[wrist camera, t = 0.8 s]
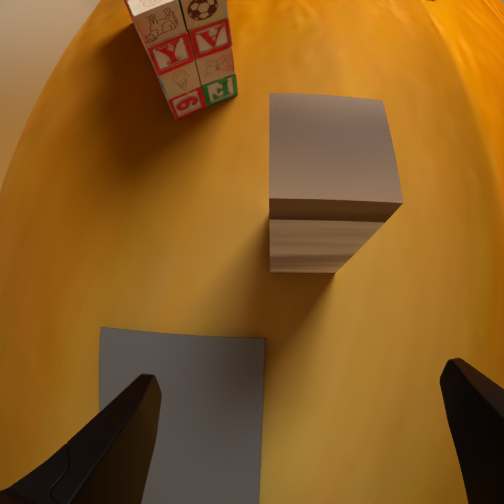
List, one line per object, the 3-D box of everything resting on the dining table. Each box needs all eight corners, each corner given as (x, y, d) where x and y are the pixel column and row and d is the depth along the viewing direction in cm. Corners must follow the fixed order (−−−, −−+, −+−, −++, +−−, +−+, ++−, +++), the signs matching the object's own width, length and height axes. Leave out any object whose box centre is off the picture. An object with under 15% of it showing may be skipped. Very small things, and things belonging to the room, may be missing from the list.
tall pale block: (335, 272, 22) (403, 202, 10) (270, 272, 22) (269, 198, 10) (332, 211, 23) (382, 100, 11) (270, 210, 24) (269, 93, 11)
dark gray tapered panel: (256, 547, 17) (256, 551, 16) (115, 523, 17) (112, 526, 17) (264, 338, 21) (264, 338, 21) (104, 327, 22) (100, 326, 21)
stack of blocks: (132, 22, 32) (104, -47, 20) (176, 5, 32) (156, -67, 20) (176, 122, 26) (131, 14, 14) (240, 96, 27) (225, -18, 15)
